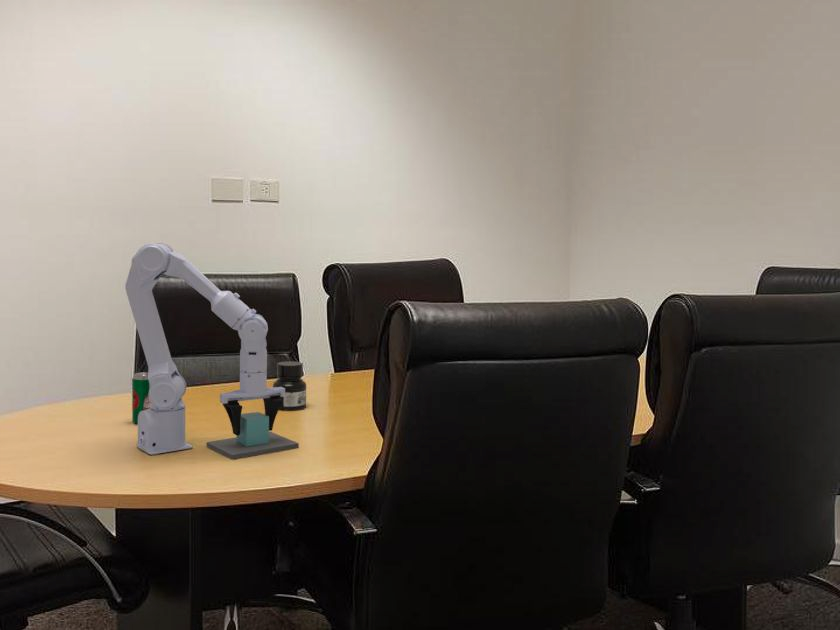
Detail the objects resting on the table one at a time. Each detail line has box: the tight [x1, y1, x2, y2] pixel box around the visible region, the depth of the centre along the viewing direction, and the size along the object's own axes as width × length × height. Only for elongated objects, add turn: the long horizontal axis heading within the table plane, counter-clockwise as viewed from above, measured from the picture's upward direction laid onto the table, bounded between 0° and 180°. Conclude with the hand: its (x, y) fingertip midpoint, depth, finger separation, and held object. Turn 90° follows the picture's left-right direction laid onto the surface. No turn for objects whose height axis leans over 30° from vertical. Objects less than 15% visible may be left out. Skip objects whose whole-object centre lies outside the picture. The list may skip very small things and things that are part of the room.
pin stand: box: [206, 431, 300, 460], centre depth 171 cm, size 16×12×6 cm
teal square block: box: [236, 411, 270, 447], centre depth 171 cm, size 5×5×6 cm
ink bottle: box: [272, 361, 307, 411], centre depth 211 cm, size 10×9×12 cm
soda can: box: [131, 371, 151, 425], centre depth 190 cm, size 5×5×12 cm
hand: (252, 432), depth 171 cm, fingers open, 7 cm apart
